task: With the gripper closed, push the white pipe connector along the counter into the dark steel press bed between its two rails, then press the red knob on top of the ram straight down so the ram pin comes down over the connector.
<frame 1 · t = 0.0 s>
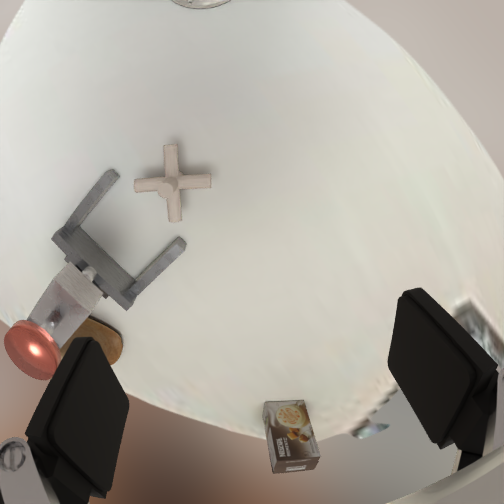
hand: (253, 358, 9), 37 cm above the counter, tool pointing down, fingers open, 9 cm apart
pipe connector: (178, 177, 43), on the counter
brown boot vase: (89, 328, 51), on the counter
press: (129, 227, 44), on the counter
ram: (56, 316, 26), point 21 cm above the counter, slide at 0.0 cm
coffee box: (283, 408, 63), on the counter
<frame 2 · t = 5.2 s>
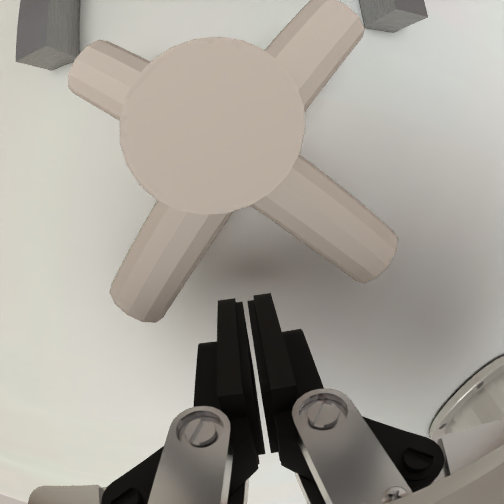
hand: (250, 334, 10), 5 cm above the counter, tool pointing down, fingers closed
pipe connector: (235, 156, 12), on the counter, touching gripper
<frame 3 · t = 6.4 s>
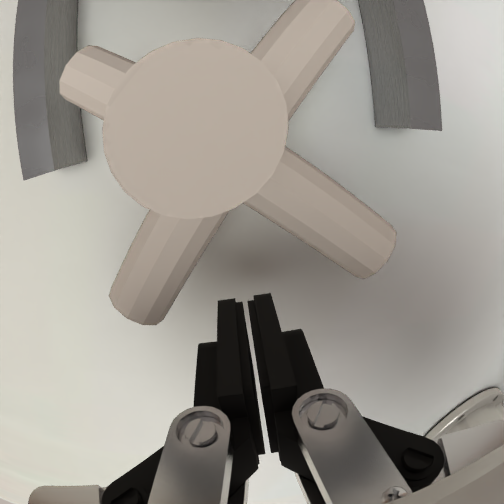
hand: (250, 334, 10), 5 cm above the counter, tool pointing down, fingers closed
pipe connector: (231, 155, 12), on the counter, touching gripper
press: (219, 29, 10), on the counter
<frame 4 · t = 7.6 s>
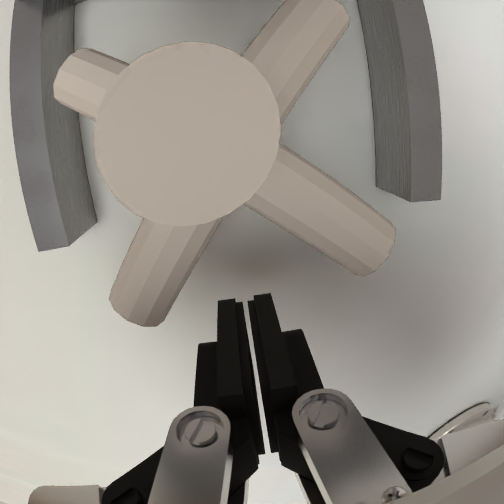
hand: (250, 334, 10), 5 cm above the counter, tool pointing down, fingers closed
pipe connector: (229, 153, 12), on the counter, touching gripper
press: (224, 89, 11), on the counter
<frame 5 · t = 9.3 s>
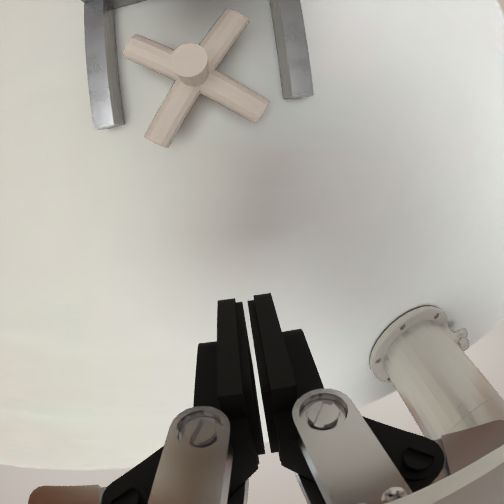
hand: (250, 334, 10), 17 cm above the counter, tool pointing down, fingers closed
pipe connector: (198, 84, 21), on the counter
press: (195, 53, 20), on the counter
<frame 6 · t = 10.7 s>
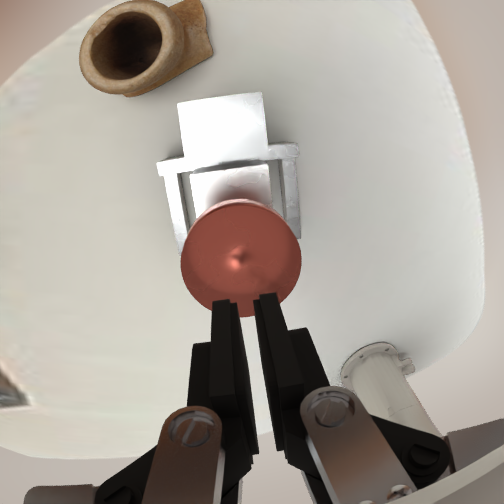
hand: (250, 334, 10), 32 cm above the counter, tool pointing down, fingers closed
brown boot vase: (163, 56, 33), on the counter
press: (234, 205, 41), on the counter
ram: (236, 224, 20), point 21 cm above the counter, slide at 0.0 cm
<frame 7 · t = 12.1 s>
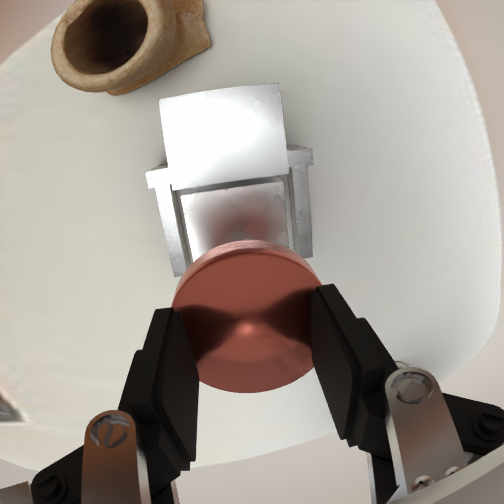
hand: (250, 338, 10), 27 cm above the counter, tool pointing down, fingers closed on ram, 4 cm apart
brown boot vase: (154, 49, 28), on the counter
press: (236, 219, 36), on the counter
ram: (241, 258, 16), point 20 cm above the counter, slide at 0.8 cm, touching gripper
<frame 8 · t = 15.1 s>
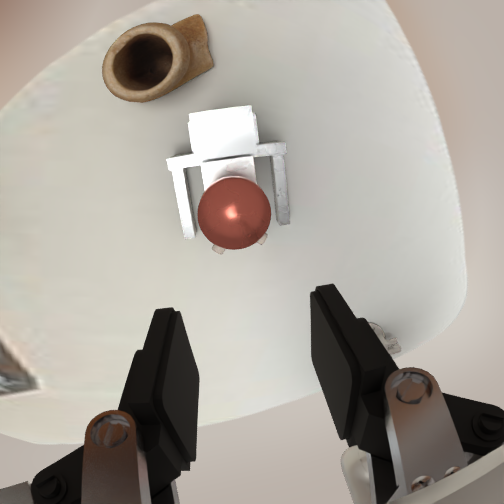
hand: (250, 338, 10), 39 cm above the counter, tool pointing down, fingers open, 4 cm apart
brown boot vase: (170, 67, 39), on the counter
press: (232, 196, 47), on the counter
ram: (232, 197, 29), point 18 cm above the counter, slide at 3.1 cm
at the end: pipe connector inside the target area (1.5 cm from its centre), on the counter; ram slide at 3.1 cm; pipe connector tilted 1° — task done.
